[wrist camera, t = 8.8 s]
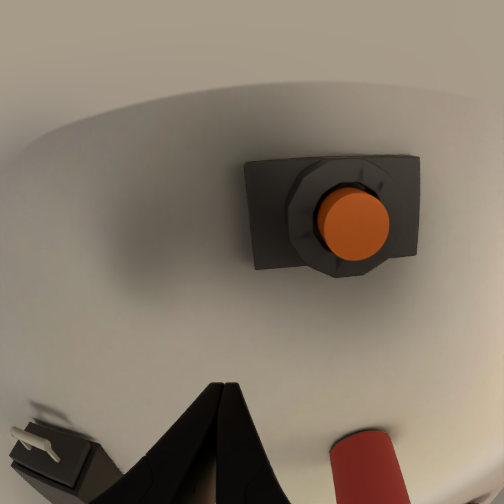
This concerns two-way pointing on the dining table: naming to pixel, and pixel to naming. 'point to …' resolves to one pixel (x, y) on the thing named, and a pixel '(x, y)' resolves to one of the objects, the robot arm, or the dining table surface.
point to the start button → (353, 223)
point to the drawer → (50, 453)
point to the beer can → (367, 470)
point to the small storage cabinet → (88, 485)
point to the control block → (308, 203)
